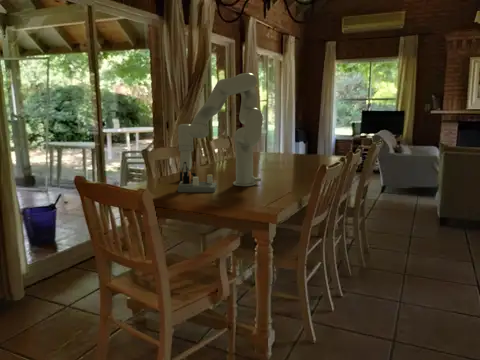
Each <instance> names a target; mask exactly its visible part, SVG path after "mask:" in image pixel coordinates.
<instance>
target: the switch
mask: <svg viewBox="0 0 480 360" xmlns="http://www.w3.org/2000/svg"><path fill="white" fill-rule="evenodd" d="M198 182H199V176H197V177H193V186H199V183H198Z"/></svg>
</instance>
